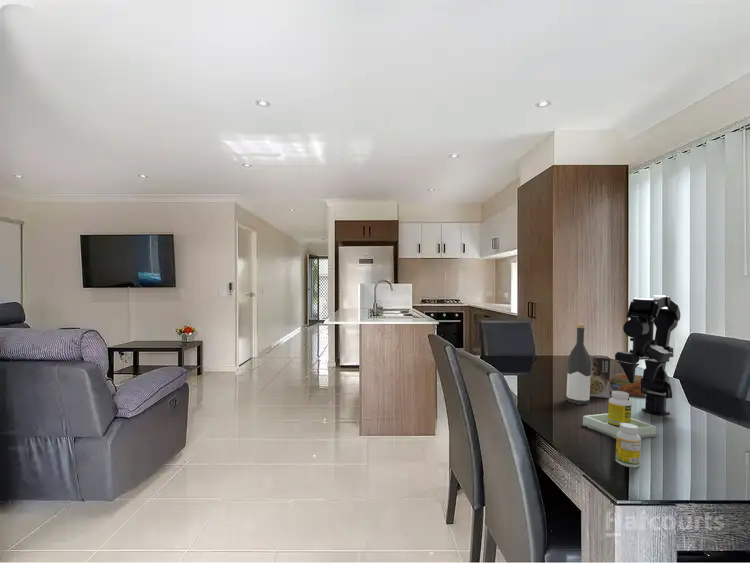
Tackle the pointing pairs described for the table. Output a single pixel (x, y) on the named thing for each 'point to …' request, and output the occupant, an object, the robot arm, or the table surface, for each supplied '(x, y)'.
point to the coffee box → (600, 376)
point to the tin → (626, 384)
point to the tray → (601, 425)
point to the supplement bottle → (628, 445)
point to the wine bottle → (579, 371)
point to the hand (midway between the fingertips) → (641, 382)
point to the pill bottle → (619, 409)
